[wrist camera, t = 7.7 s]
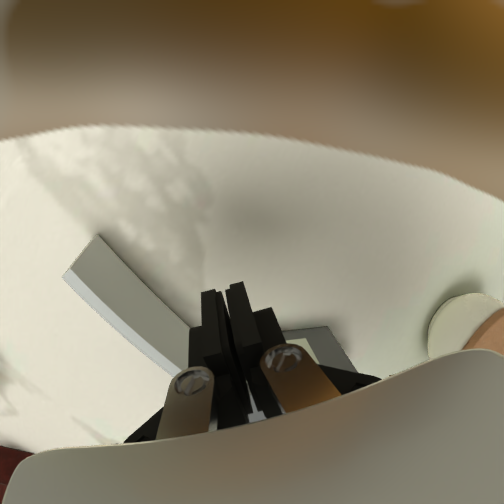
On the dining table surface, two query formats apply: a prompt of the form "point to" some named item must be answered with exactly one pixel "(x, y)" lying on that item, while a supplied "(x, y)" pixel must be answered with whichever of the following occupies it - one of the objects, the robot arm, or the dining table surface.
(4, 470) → the toy vending machine
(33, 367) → the dining table surface
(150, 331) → the side door
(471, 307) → the lidded jar
